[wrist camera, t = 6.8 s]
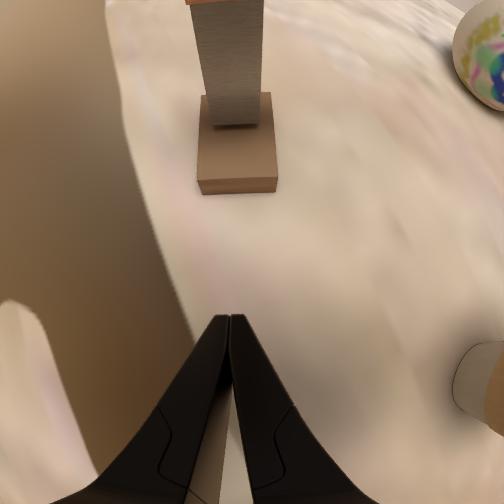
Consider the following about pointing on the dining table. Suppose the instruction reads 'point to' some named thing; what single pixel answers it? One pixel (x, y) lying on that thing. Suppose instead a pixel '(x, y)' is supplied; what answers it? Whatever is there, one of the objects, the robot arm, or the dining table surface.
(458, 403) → the coffee cup
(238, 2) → the block
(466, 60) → the decorative egg
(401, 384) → the dining table surface
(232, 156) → the stand
